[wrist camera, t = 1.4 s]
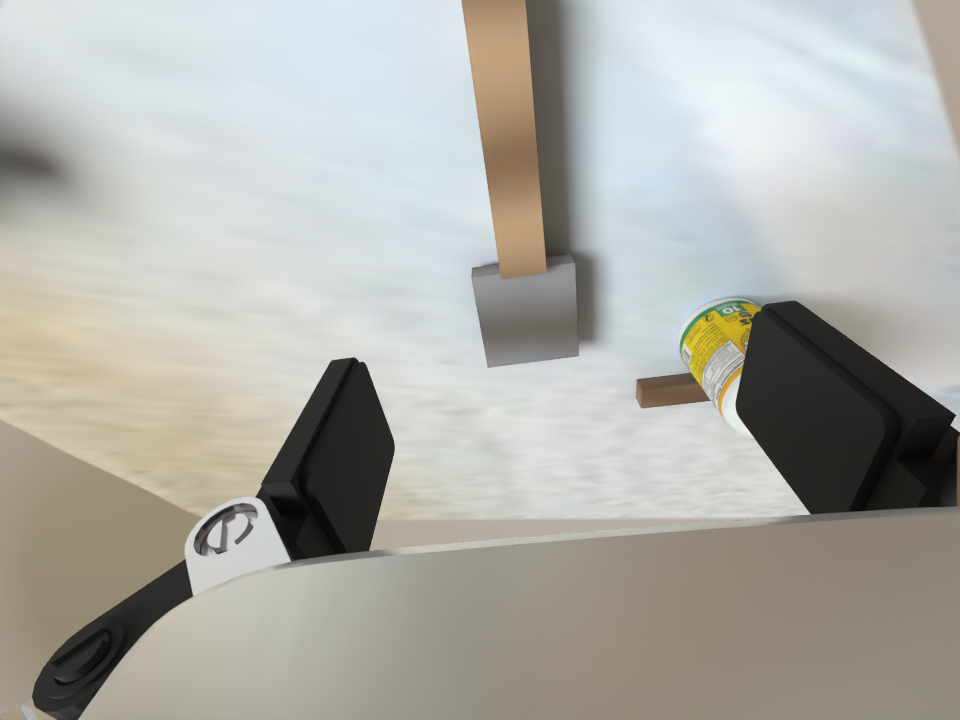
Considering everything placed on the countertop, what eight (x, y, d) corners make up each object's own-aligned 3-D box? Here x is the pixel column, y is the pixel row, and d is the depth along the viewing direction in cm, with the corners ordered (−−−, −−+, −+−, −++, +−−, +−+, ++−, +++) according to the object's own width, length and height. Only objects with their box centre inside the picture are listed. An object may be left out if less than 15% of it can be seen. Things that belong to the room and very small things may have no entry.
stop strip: (636, 379, 30) (642, 390, 29) (790, 361, 29) (801, 371, 28) (636, 397, 30) (641, 408, 29) (784, 380, 29) (795, 391, 28)
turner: (426, 2, 19) (417, -9, 16) (555, -25, 18) (566, -42, 16) (487, 348, 28) (488, 374, 26) (572, 337, 28) (581, 363, 25)
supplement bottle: (658, 351, 28) (725, 460, 20) (710, 281, 26) (812, 375, 18) (725, 376, 29) (814, 489, 21) (782, 311, 27) (909, 413, 19)
